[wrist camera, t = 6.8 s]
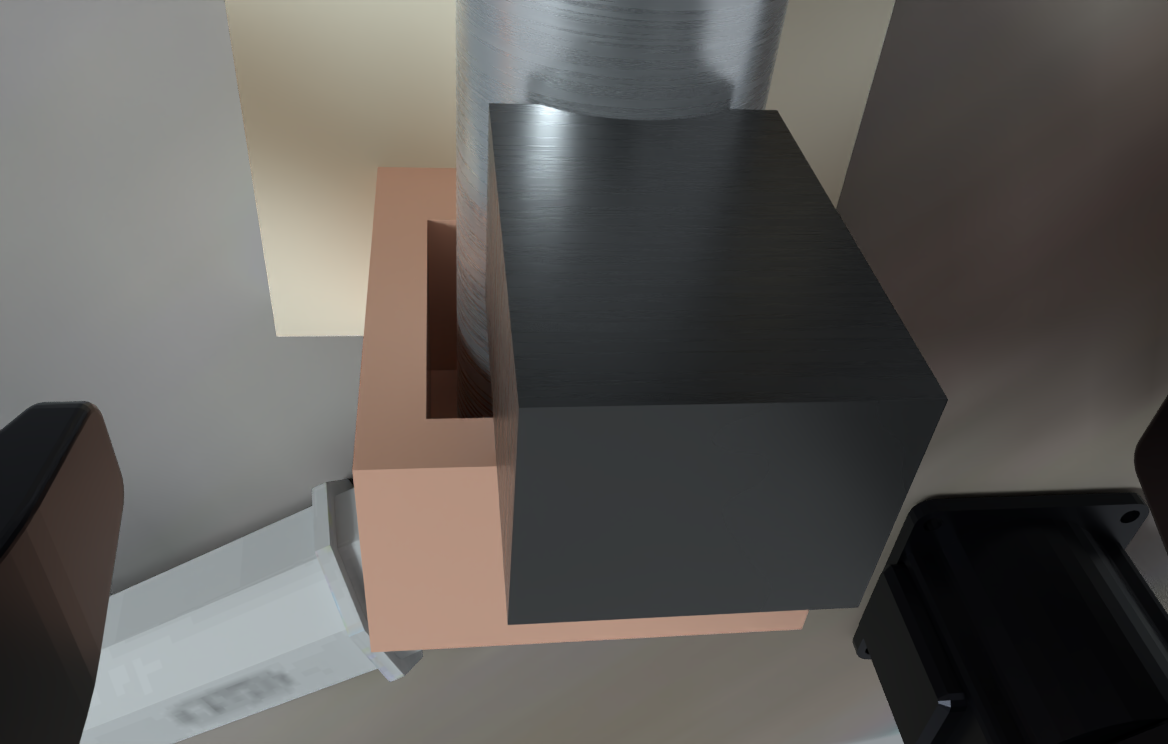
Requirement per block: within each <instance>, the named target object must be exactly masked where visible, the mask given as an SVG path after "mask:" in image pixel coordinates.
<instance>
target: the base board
mask: <svg viewBox="0 0 1168 744" xmlns="http://www.w3.org/2000/svg"><path fill="white" fill-rule="evenodd" d="M895 1H896V0H789V1H788V6H787V10H786V15H785V20H784V24H783V29H782V34H781V38H780V43H779V48H778V52H777V57H776V61H775V66H774V71H773V75H772V80H771V85H770V89H769V94H768V99H767V103H766V108H765V110H777V111H778V112H779V114H780V116H781V117H782V119H783V121H784V122H785V124H786V126H787V127H788V129H789V131H790V133H791V134H792V136H793V138H794V139H795V141H796V143H797V144H798V146H799V148H800V150H801V151H802V153H803V155H804V156H805V158H806V160H807V161H808V163H809V165H810V166H811V168H812V170H813V172H814V173H815V175H816V177H817V178H818V180H819V182H820V183H821V185H822V187H823V188H824V190H825V192H826V194H827V195H828V197H829V199H830V200H831V202H832V204H833V205H834V207H835V209H836V207H837V204H838V200H839V197H840V193H841V190H842V186H843V183H844V179H845V176H846V172H847V169H848V165H849V162H850V158H851V155H852V151H853V148H854V144H855V141H856V137H857V134H858V130H859V127H860V123H861V120H862V116H863V113H864V109H865V106H866V102H867V99H868V95H869V92H870V88H871V85H872V81H873V78H874V74H875V71H876V67H877V64H878V60H879V57H880V53H881V50H882V46H883V43H884V39H885V36H886V32H887V29H888V25H889V22H890V18H891V15H892V11H893V8H894V4H895ZM225 6H226V13H227V19H228V25H229V32H230V38H231V45H232V51H233V58H234V64H235V71H236V77H237V84H238V90H239V97H240V103H241V109H242V116H243V122H244V129H245V135H246V142H247V148H248V155H249V161H250V168H251V174H252V180H253V187H254V193H255V200H256V206H257V213H258V219H259V226H260V232H261V239H262V245H263V252H264V258H265V264H266V271H267V277H268V284H269V290H270V297H271V303H272V310H273V316H274V323H275V329H276V336H277V337H291V336H364V325H365V313H366V301H367V290H368V278H369V266H370V254H371V242H372V230H373V218H374V206H375V194H376V182H377V170H378V167H414V168H456V0H225Z"/></svg>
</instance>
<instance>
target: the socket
mask: <svg viewBox="0 0 1168 744" xmlns="http://www.w3.org/2000/svg"><path fill="white" fill-rule="evenodd" d="M352 472H353V482H354V491H355V501H356V511H357V521H358V530H359V540H360V550H361V559H362V569H363V579H364V589H365V598H366V608H367V618H368V628H369V637H370V647H371V652H389V651H408V650H426V649H445V648H463V647H482V646H500V645H519V644H538V643H556V642H575V641H593V640H612V639H631V638H649V637H668V636H686V635H705V634H723V633H742V632H761V631H779V630H798V629H802V627H803V624H804V622H805V619H806V617H807V614H808V611H809V610H795V611H775V612H756V613H736V614H716V615H697V616H677V617H657V618H638V619H618V620H598V621H579V622H559V623H540V624H520V625H508V624H507V609H506V595H505V580H504V566H503V551H502V537H501V522H500V508H499V493H498V479H497V464H496V450H495V435H494V421H493V418H457V257H456V168H414V167H378V170H377V182H376V194H375V206H374V218H373V230H372V242H371V254H370V266H369V278H368V290H367V301H366V313H365V325H364V337H363V349H362V361H361V373H360V385H359V397H358V409H357V421H356V433H355V445H354V456H353V468H352Z"/></svg>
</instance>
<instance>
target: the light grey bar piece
mask: <svg viewBox="0 0 1168 744" xmlns="http://www.w3.org/2000/svg"><path fill="white" fill-rule="evenodd" d="M422 657H423V652H422V650H408V651H389V652H371V647H370V637H369V628H368V618H367V608H366V598H365V589H364V579H363V569H362V559H361V550H360V540H359V530H358V521H357V511H356V501H355V491H354V486H353V485H352V483H351V482H350V481H349V479H345V480H338V481H331V482H325V483H323V484H321V485H319V486H316V487H314V488H312V506H311V507H309V508H307V509H304V510H302V511H300V512H298V513H295V514H293V515H291V516H289V517H286V518H284V519H282V520H280V521H277V522H275V523H273V524H271V525H268V526H266V527H264V528H262V529H260V530H257V531H255V532H253V533H251V534H248V535H246V536H244V537H242V538H239V539H237V540H235V541H233V542H230V543H228V544H226V545H224V546H222V547H219V548H217V549H215V550H213V551H210V552H208V553H206V554H204V555H201V556H199V557H197V558H195V559H192V560H190V561H188V562H186V563H184V564H181V565H179V566H177V567H175V568H172V569H170V570H168V571H166V572H163V573H161V574H159V575H157V576H154V577H152V578H150V579H148V580H146V581H143V582H141V583H139V584H137V585H134V586H132V587H130V588H128V589H125V590H123V591H121V592H119V593H116V594H114V595H112V596H110V597H109V603H108V610H107V616H106V623H105V629H104V636H103V642H102V649H101V655H100V661H99V666H98V672H97V678H96V683H95V688H94V692H93V696H92V700H91V704H90V708H89V712H88V716H87V719H86V723H85V726H84V730H83V733H82V737H81V740H80V744H173V743H176V742H179V741H181V740H184V739H187V738H189V737H192V736H195V735H198V734H200V733H203V732H206V731H209V730H211V729H214V728H217V727H219V726H222V725H225V724H228V723H230V722H233V721H236V720H239V719H241V718H244V717H247V716H249V715H252V714H255V713H258V712H260V711H263V710H266V709H268V708H271V707H274V706H277V705H279V704H282V703H285V702H288V701H290V700H293V699H296V698H298V697H301V696H304V695H307V694H309V693H312V692H315V691H318V690H320V689H323V688H326V687H328V686H331V685H334V684H337V683H339V682H342V681H345V680H348V679H350V678H353V677H356V676H358V675H361V674H364V673H367V672H369V671H372V670H375V669H377V668H378V670H379V671H380V672H381V673H382V674H383V675H384V676H385V677H386V678H387V679H388V681H389V682H391V681H394V680H396V679H398V678H401V677H403V676H405V675H406V674H407V673H408V672H409V671H410V670H411V669H412V668H413V666H414V665H415V664H416V663H417V662H418V661H419V660H420V659H421V658H422Z"/></svg>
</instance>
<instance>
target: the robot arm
mask: <svg viewBox="0 0 1168 744" xmlns="http://www.w3.org/2000/svg"><path fill="white" fill-rule="evenodd" d="M1134 465H1135V471H1136V474H1137V477H1138V479H1139V482H1140V484H1141V487H1142V490H1143V492H1144V495H1145V497H1146V500H1147V503H1148V505H1149V507H1148V506H1147V505H1146V503H1145V502H1144V501H1143V499H1142V498H1141V496H1140V495H1138V494H1137V493H1103V494H1075V495H1046V496H1017V497H989V498H960V499H933V500H927V501H923V502H921V503H919V504H917V505H916V506H914V507H913V508H912V509H911V510H910V512H909V513H908V516H907V518H906V520H905V522H904V525H903V527H902V529H901V531H900V534H899V536H898V538H897V540H896V543H895V545H894V547H893V549H892V552H891V554H890V556H889V558H888V561H887V563H886V565H885V567H884V570H883V572H882V573H881V575H880V577H879V580H878V582H877V584H876V586H875V589H874V591H873V593H872V595H871V598H870V600H869V602H868V604H867V607H866V609H865V611H864V614H863V616H862V618H861V620H860V623H859V626H858V628H857V631H856V633H855V635H854V638H853V645H854V648H855V650H856V653H857V655H858V656H859V657H860V658H862V659H872V662H873V665H874V667H875V670H876V672H877V675H878V678H879V680H880V683H881V685H882V688H883V690H884V693H885V696H886V698H887V701H888V703H889V706H890V708H891V711H892V714H893V716H894V719H895V721H896V724H897V727H898V729H899V732H900V734H901V737H902V739H903V742H904V744H1168V614H1167V612H1166V611H1165V609H1164V608H1163V606H1162V605H1161V603H1160V602H1159V600H1158V599H1157V597H1156V596H1155V595H1154V593H1153V592H1152V590H1151V589H1150V587H1149V586H1148V584H1147V583H1146V581H1145V580H1144V578H1143V577H1142V575H1141V574H1140V572H1139V571H1138V569H1137V568H1136V566H1135V565H1134V563H1133V562H1132V560H1131V559H1130V558H1129V556H1128V555H1127V553H1126V552H1125V548H1126V547H1127V545H1128V544H1129V543H1130V541H1131V540H1132V538H1133V537H1134V535H1135V534H1136V532H1137V531H1138V529H1139V528H1140V526H1141V525H1142V523H1143V522H1144V521H1145V519H1146V518H1147V516H1148V514H1149V508H1150V510H1151V513H1152V516H1153V518H1154V521H1155V523H1156V526H1157V529H1158V531H1159V534H1160V536H1161V539H1162V541H1163V544H1164V547H1165V549H1166V552H1167V554H1168V395H1167V397H1166V399H1165V400H1164V402H1163V403H1162V405H1161V407H1160V408H1159V410H1158V411H1157V413H1156V414H1155V416H1154V418H1153V419H1152V421H1151V422H1150V424H1149V426H1148V427H1147V429H1146V430H1145V432H1144V434H1143V435H1142V437H1141V438H1140V440H1139V442H1138V444H1137V446H1136V449H1135V453H1134ZM123 505H124V485H123V478H122V474H121V471H120V468H119V465H118V462H117V459H116V456H115V453H114V449H113V446H112V443H111V440H110V437H109V434H108V431H107V428H106V425H105V422H104V419H103V416H102V414H101V412H100V410H99V409H98V408H97V406H96V405H94V404H92V403H90V402H86V401H73V402H42V403H37V404H35V405H32V406H31V407H29V408H28V409H26V410H25V411H24V412H22V413H21V414H20V415H19V416H17V417H16V418H15V419H14V420H13V421H11V422H10V423H9V424H8V425H6V426H5V427H4V428H3V429H1V430H0V744H80V740H81V737H82V733H83V730H84V726H85V723H86V719H87V716H88V712H89V708H90V704H91V700H92V696H93V692H94V688H95V683H96V678H97V672H98V666H99V661H100V655H101V649H102V642H103V636H104V629H105V623H106V616H107V610H108V603H109V597H110V590H111V584H112V577H113V571H114V564H115V558H116V551H117V545H118V538H119V532H120V525H121V519H122V512H123Z"/></svg>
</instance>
